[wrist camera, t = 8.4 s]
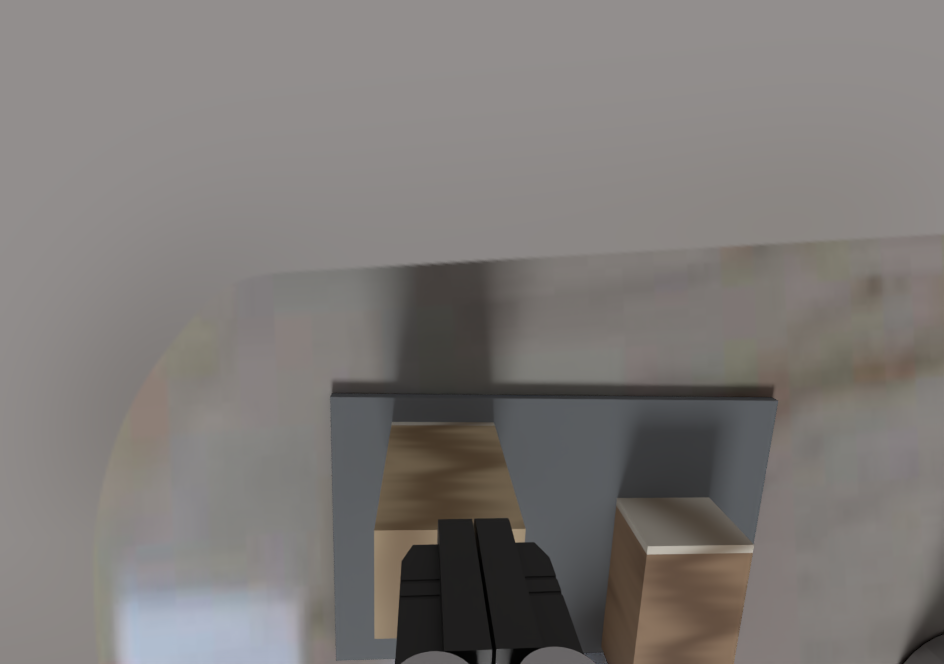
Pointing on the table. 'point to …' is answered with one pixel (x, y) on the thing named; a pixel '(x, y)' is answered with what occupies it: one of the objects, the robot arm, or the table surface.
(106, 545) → the table surface
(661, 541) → the walnut block
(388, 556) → the oak block
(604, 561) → the mat
